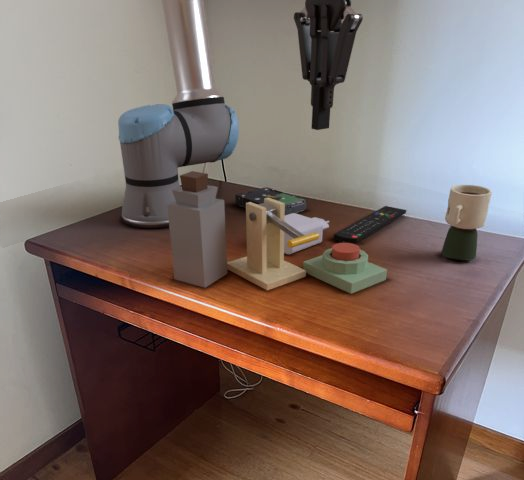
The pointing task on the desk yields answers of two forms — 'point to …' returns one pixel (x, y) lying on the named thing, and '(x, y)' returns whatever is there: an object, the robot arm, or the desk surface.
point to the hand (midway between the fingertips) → (320, 128)
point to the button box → (345, 271)
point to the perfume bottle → (197, 231)
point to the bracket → (265, 250)
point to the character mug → (465, 220)
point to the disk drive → (257, 197)
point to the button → (345, 251)
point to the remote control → (368, 225)
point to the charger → (304, 230)
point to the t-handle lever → (287, 228)
